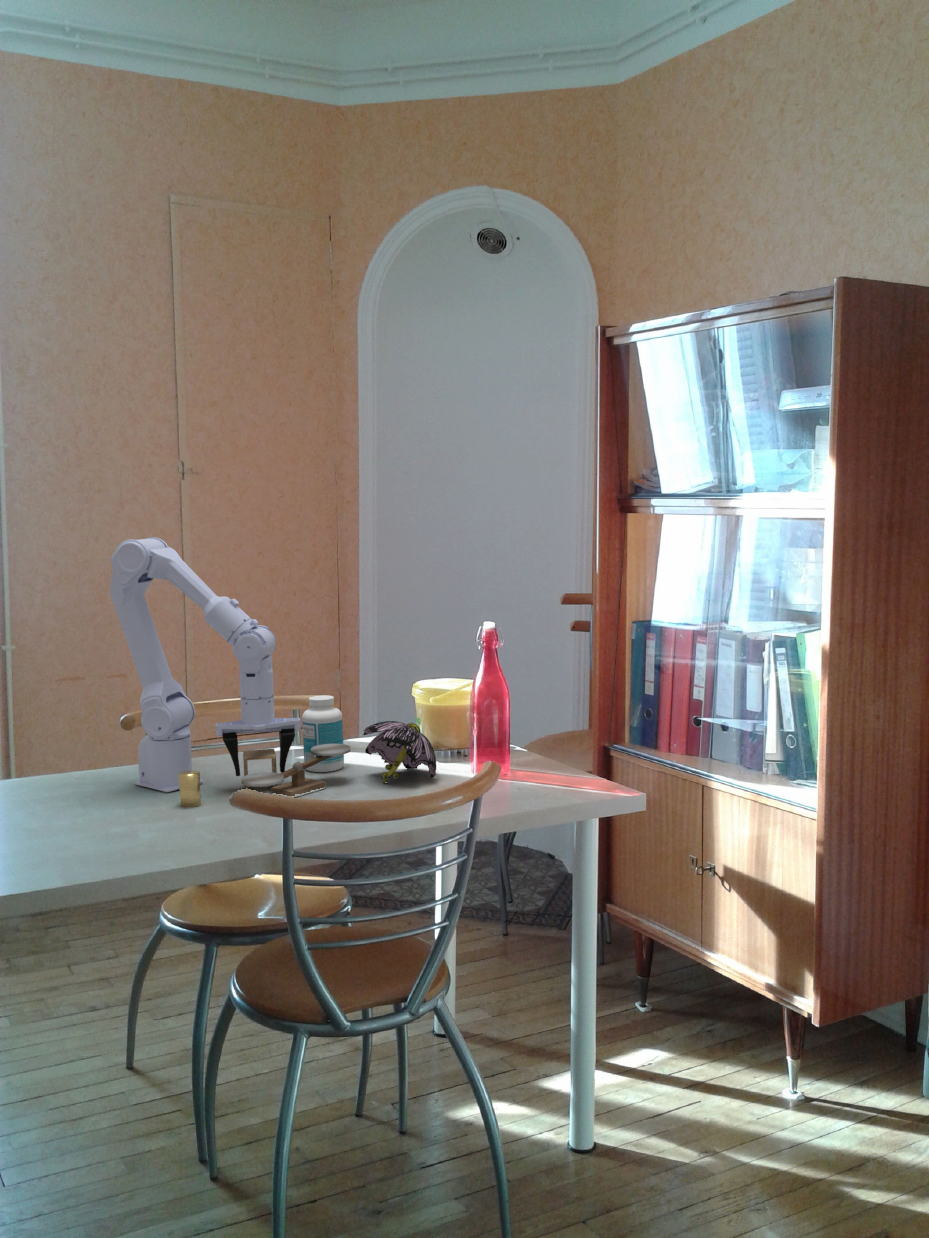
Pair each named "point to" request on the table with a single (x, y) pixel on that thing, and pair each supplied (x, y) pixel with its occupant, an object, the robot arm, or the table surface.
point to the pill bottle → (322, 731)
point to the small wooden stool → (259, 755)
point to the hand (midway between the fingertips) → (260, 772)
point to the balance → (296, 773)
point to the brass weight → (190, 789)
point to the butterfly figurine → (401, 747)
